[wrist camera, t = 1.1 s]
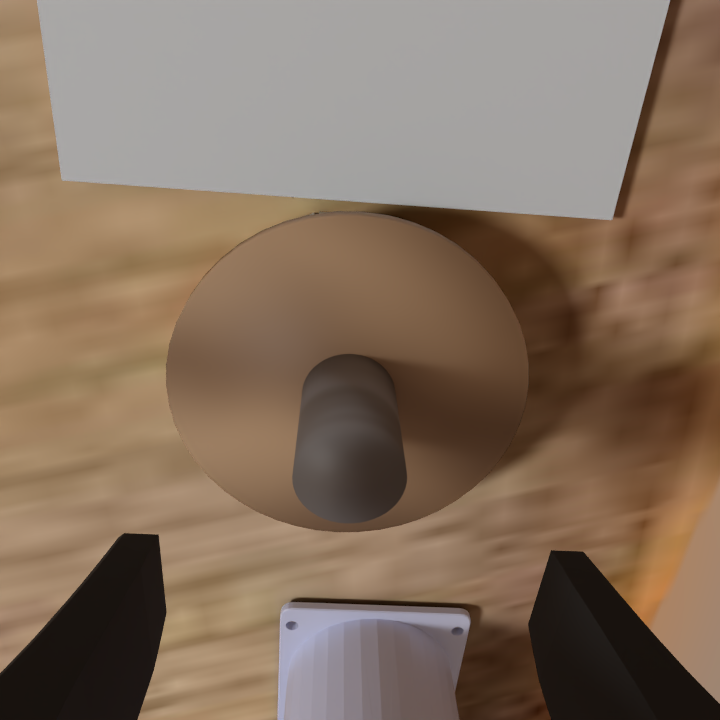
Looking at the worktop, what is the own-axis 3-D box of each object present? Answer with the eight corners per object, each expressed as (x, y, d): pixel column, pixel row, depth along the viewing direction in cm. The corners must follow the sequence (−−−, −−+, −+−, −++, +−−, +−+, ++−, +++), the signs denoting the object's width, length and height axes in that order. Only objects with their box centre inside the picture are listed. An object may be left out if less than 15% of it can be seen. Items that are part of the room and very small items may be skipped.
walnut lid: (490, 526, 22) (523, 638, 18) (180, 512, 22) (142, 625, 18) (559, 225, 17) (625, 285, 13) (159, 196, 17) (98, 250, 13)
